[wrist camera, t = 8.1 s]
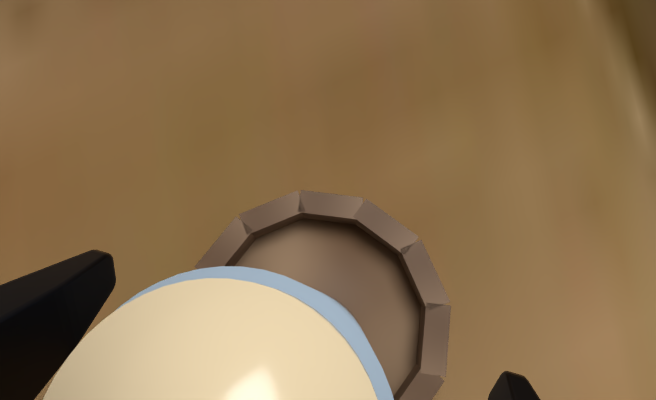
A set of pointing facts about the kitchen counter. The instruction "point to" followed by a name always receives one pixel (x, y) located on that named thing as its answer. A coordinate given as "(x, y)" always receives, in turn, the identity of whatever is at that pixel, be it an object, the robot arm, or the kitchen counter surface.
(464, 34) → the kitchen counter surface
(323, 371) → the bead jar
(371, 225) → the walnut tray
